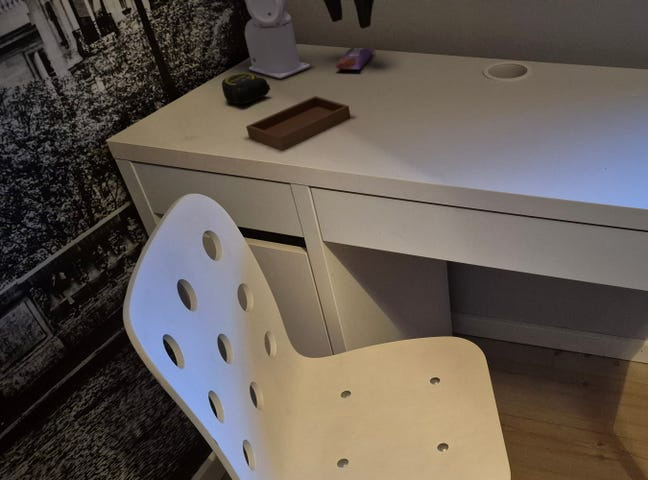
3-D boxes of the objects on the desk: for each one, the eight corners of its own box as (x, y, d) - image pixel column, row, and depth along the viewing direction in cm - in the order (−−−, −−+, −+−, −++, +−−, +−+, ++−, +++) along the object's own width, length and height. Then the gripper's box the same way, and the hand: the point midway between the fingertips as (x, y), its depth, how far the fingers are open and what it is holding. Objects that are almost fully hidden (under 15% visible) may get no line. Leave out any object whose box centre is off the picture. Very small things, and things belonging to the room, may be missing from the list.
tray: (282, 150, 105) (279, 138, 104) (249, 138, 109) (245, 126, 108) (350, 117, 114) (348, 105, 113) (317, 107, 118) (315, 95, 116)
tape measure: (242, 110, 117) (236, 89, 115) (218, 102, 121) (212, 80, 118) (272, 98, 121) (267, 77, 119) (248, 90, 125) (243, 69, 122)
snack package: (351, 43, 137) (374, 44, 136) (352, 53, 138) (376, 54, 138) (333, 63, 129) (357, 64, 128) (334, 73, 130) (359, 74, 129)
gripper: (384, -59, 118) (393, 24, 127) (327, -67, 125) (339, 12, 134) (356, -51, 114) (367, 34, 123) (298, -60, 120) (313, 21, 130)
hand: (351, 23), depth 128 cm, fingers open, 7 cm apart
